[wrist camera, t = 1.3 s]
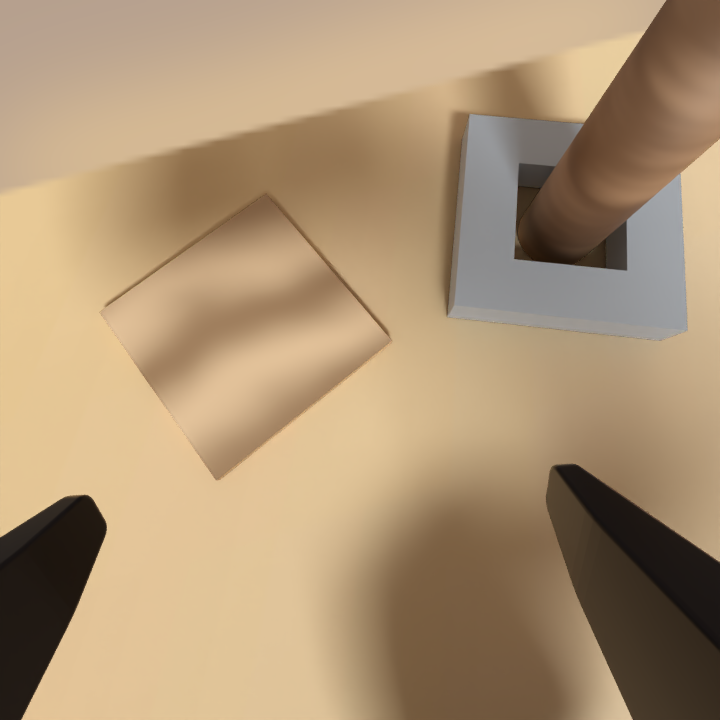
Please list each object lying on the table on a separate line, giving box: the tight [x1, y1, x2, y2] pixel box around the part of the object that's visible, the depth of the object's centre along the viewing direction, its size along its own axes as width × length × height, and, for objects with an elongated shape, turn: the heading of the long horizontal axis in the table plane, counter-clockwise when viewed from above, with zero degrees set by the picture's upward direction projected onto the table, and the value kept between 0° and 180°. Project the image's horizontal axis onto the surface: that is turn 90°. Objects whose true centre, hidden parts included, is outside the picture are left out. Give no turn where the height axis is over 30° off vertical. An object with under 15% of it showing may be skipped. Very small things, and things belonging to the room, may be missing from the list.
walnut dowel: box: [518, 0, 720, 265], centre depth 18 cm, size 4×4×13 cm
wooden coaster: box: [99, 194, 392, 480], centre depth 23 cm, size 12×12×1 cm
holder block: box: [447, 114, 688, 341], centre depth 23 cm, size 12×12×2 cm
